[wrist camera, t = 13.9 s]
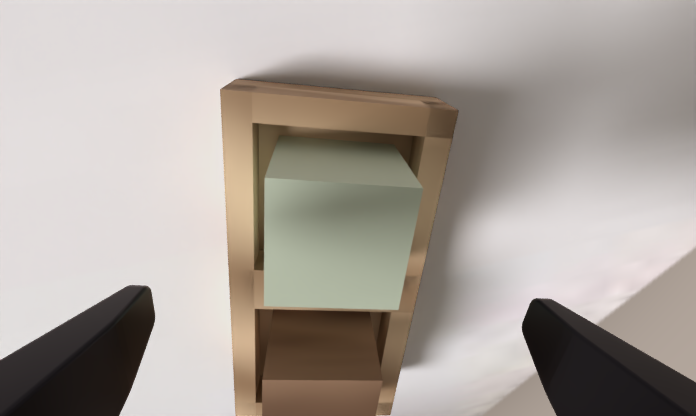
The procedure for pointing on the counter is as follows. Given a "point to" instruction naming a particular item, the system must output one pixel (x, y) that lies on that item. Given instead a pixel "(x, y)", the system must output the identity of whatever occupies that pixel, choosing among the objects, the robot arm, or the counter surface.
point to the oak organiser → (248, 203)
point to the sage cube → (337, 224)
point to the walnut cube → (321, 364)
